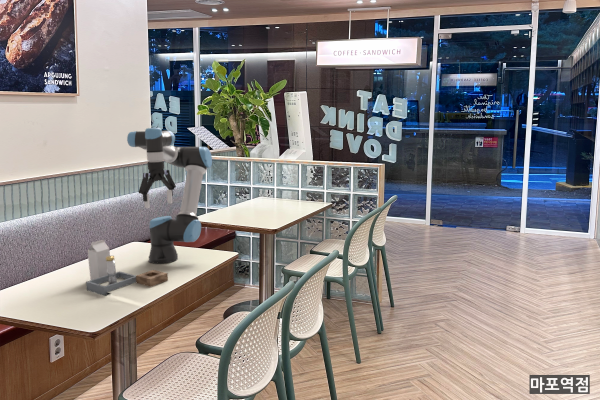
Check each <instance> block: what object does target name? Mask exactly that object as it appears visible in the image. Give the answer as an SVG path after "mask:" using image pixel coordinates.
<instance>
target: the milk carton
mask: <svg viewBox="0 0 600 400" xmlns="http://www.w3.org/2000/svg"><path fill="white" fill-rule="evenodd" d="M107 256H111V251H110V247H109V246H108V245H107V243H106V242H105V239H101V240H97V241H96V240H95V241H93V242H91V243H90V246H89V247H88V249H87V258H88V268H89V277H90V280H94V279H97V278H100V277H103V276H106V275H108V272H107V263H106V257H107ZM90 280H89V281H90Z"/></svg>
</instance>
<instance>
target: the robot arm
mask: <svg viewBox="0 0 600 400" xmlns="http://www.w3.org/2000/svg"><path fill="white" fill-rule="evenodd" d="M126 141H127V144H128V146H130V147H131V148H140V149H143V150H145V151H146V161H147V170H148V172H143V173H142V174H143V175H142V180H141V183H140V186H139V189H138V194H141V195H142V200H143V202H144V209H151V206H150V195H149V191H150V190H151V188H152V186H153V184H154V183H156V182H159V181H160V182H162V184H163V185H164V186H165V187H166V199H167V204H173V197H174V194H173V193H174V191H173V190H175V188H177V186H176V183H175V182H174V179H173V178H172V175H171V171H170V169H165V163H167V164H170V165H171V166H175V167H177V168H183V169H184V170H185V171H186V177H185V182H184V188H183V194H182V200H181V204H180V209H179V210H180V212H178V213H177V214H176V217H175V219H174V218H172V216H171V215H165V216H160V217H159V216H158V217H155V218H152V219H151V220H150V221H149V227H148V228H149V235H150V237H149V238H150V251H149V256H148V262H149V263H150V264H155V265H158V264H160V265H161V264H170V263H173V262H175V261H177V260H178V259H179V257H178V253H177V250H176V247H175V245H174V242H180V243H194V242H196V241H197V240H198V239H199V237H200V235H201V231H202V223H201V221H200V220H199V217H198V216H197V213H198V212H197V211H198V206H199V199H200V194H201V188H202V184H203V183H202V182H203V178H204V174H206V173H207V171H208V170H207V169H210V168H211V167H212V165H213V158H212V157H213V156H212V153H211V151H210V149H209V148H208V147H207V146H201V145H200V146H174V144H175V141H176V136H175V134H174V132H172V131H170V130H168V129H167V130H162V128H161V127H148V128H146V129H144V131H138V130H136V131H135V130H134V131H130V132H128V133H127V136H126Z"/></svg>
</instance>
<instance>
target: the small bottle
mask: <svg viewBox="0 0 600 400" xmlns="http://www.w3.org/2000/svg"><path fill="white" fill-rule="evenodd" d="M115 259H116V258H115V256H114V255H110V256H107V257H106V263H107V272H108V281H107V282H108V285H110V284H113V283H116V282H118V278H117V277H116V272H117V270H116V262H115V261H116V260H115Z"/></svg>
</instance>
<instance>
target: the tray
mask: <svg viewBox="0 0 600 400" xmlns="http://www.w3.org/2000/svg"><path fill="white" fill-rule="evenodd" d="M116 277H117V279H119V278H121V279H123V280H120V281H117V282H116V283H113V284H110V285H109V284H107V285H101V284H102V283H103V284H104V283H107V282H109V281H108V275H106V276H103V277H100V278H97V279H94V280H87V281H85V285H86V286H85V287H86V291H88V292H91V293H94V294H98V295H101V296H104V297H107V296H110V295H112V293H111V292H112V291H114V290H117V289H120V288H124V287H127V286H129V285H132V284H135V283H137V282H136V274H132V273H128V272H124V271H120V270H119V271H116Z"/></svg>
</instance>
